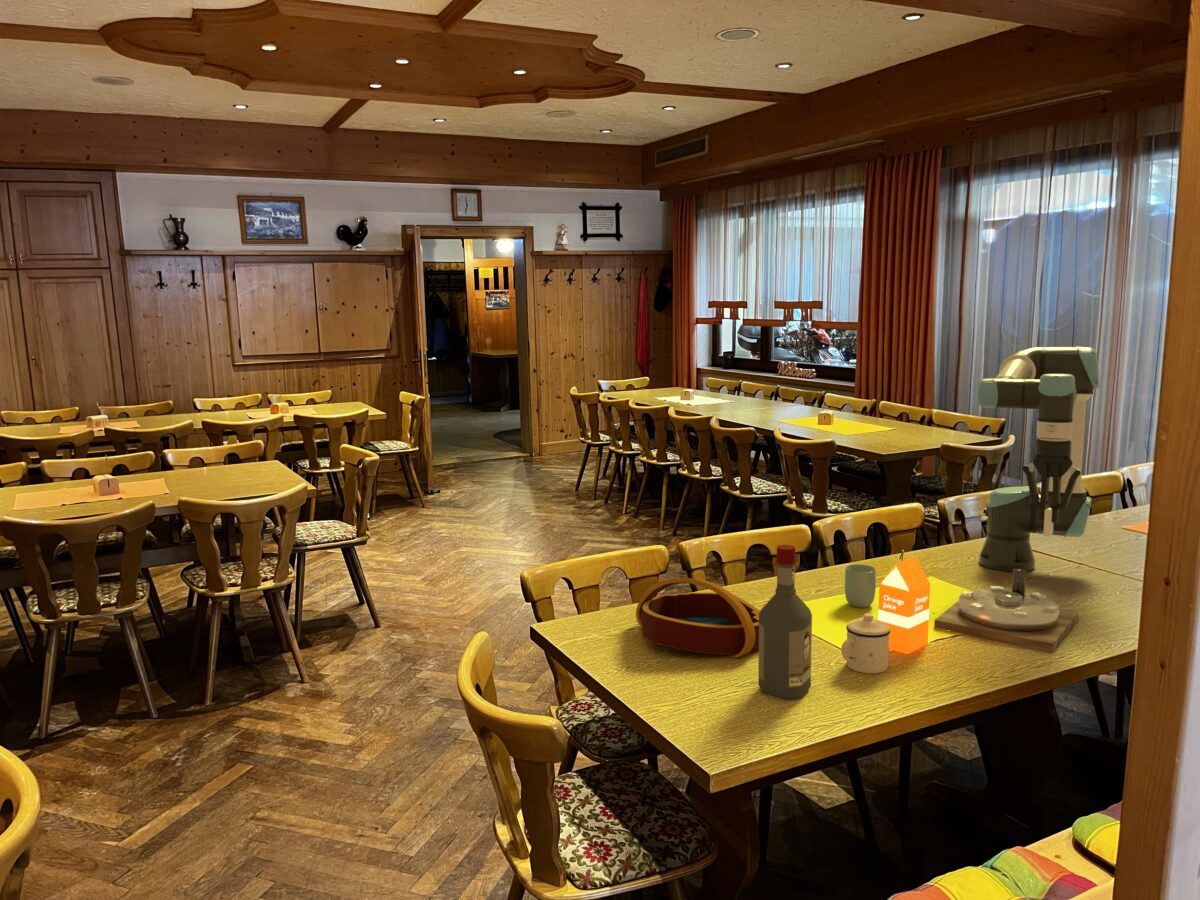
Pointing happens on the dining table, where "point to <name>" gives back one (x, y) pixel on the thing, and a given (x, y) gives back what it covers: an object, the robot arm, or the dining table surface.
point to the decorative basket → (699, 619)
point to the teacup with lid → (867, 645)
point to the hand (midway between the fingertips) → (1048, 534)
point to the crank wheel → (1009, 607)
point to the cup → (860, 585)
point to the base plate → (1031, 639)
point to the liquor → (785, 636)
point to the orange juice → (905, 606)
